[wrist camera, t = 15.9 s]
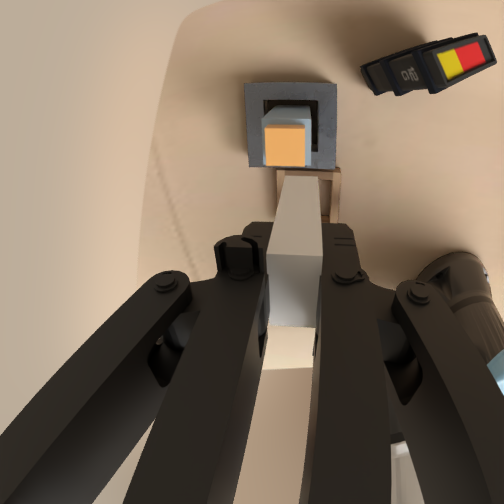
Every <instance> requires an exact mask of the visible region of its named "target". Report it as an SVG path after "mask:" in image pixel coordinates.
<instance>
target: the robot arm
mask: <svg viewBox="0 0 504 504" xmlns="http://www.w3.org/2000/svg"><path fill="white" fill-rule="evenodd" d="M214 251H215V258H216V264H217V270H218V272H217V274H216V276H215V278H212V279H209V280H204V281H197V282H191V283H190V281H189V278H188V276H187V275H186V274H185V273H183V272H180V271H174V270H171V271H164V272H161V273H158V274H156V275H154V276H153V277H151V278H150V279H149V280H148V281H147V282H146V283H144V284H143V285H142V286H141V287H140V288H139V289H138V290H137V291H136V292H135V293H134V294H133V295H132V296H131V297H130V298H129V299H128V300H127V301H126V302H125V303H124V304H123V305H122V306H121V307H120V308H119V309H118V310H117V311H115V312H114V314H113V315H111V316H110V317H109V318H108V319H107V320H106V321H105V322H104V324H102V325H101V326H100V327H99V328H98V329H97V330H96V331H95V333H94V334H92V335H91V336H90V338H89V339H88V340H87V341H86V342H85V343H84V344H83V345H82V346H81V347H80V348H79V349H78V350H77V351H76V352H75V353H74V354H73V355H72V356H71V357H70V358H69V359H68V360H67V361H66V362H65V363H64V365H63V366H62V367H61V368H60V369H59V370H58V371H57V372H56V373H55V374H54V375H53V376H52V377H51V378H50V380H49V381H48V382H47V383H46V384H45V385H44V386H43V387H42V389H40V390H39V392H38V393H37V394H36V395H35V396H34V397H33V398H32V399H31V401H30V402H29V403H28V404H27V405H26V406H25V407H24V408H23V410H22V411H21V412H20V413H19V415H17V417H16V418H15V419H14V420H13V421H12V422H11V424H10V425H9V426H8V427H7V428H6V430H5V431H4V432H3V433H2V434H1V436H0V504H92V503H93V502H94V500H95V499H96V497H97V496H98V495H99V494H100V492H101V491H102V490H103V488H104V487H105V486H106V485H107V483H108V482H109V481H110V479H111V478H112V477H113V475H114V474H115V472H116V471H117V470H118V468H119V467H120V466H121V464H122V463H123V462H124V460H125V459H126V458H127V456H128V455H129V454H130V452H131V451H132V449H133V448H134V447H135V445H136V444H137V443H138V441H139V440H140V438H141V437H142V436H143V434H144V433H145V432H146V430H147V429H148V427H149V426H150V425H151V423H152V422H153V421H154V419H155V418H156V419H155V421H154V424H153V426H152V429H151V431H150V434H149V436H148V439H147V441H146V444H145V446H144V449H143V451H142V454H141V456H140V459H139V462H138V464H137V467H136V470H135V472H134V475H133V477H132V480H131V483H130V485H129V488H128V490H127V493H126V496H125V498H124V501H123V504H233V501H234V497H235V492H236V488H237V484H238V479H239V475H240V471H241V466H242V462H243V457H244V453H245V448H246V444H247V439H248V434H249V429H250V424H251V420H252V415H253V410H254V406H255V400H256V396H257V390H258V385H259V381H260V375H261V370H262V365H263V360H264V355H265V349H266V344H267V339H268V335H267V325H268V320H269V325H276V326H292V327H311V328H316V331H315V340H314V348H313V355H312V356H314V358H313V375H312V391H311V403H310V415H309V426H308V436H307V445H306V455H305V463H304V471H303V478H302V485H301V493H300V499H299V504H504V322H503V320H502V318H501V316H500V314H499V312H498V310H497V308H496V306H495V304H494V303H493V301H492V294H491V288H490V285H489V277H488V273H487V271H486V269H485V267H484V266H483V264H482V263H481V261H480V260H479V259H478V258H477V257H476V256H474V255H472V254H469V253H465V252H456V253H451V254H448V255H445V256H443V257H441V258H439V259H437V260H435V261H434V262H432V263H431V264H430V265H429V266H427V267H426V268H425V269H424V270H423V271H422V273H421V274H420V275H419V276H418V278H417V280H407V281H404V282H401V283H400V284H399V285H398V286H397V289H396V291H394V290H390V289H386V288H382V287H380V286H377V285H375V284H373V283H371V282H370V281H369V277H368V275H367V274H366V272H365V271H364V270H362V269H361V266H360V261H359V257H358V252H357V247H356V243H355V240H354V234H353V230H352V229H350V228H349V227H348V226H347V225H346V224H340V223H321V212H320V197H319V184H318V176H285V179H284V183H283V187H282V191H281V196H280V200H279V204H278V208H277V212H276V216H275V220H274V222H252V223H250V224H249V225H248V226H246V227H245V228H244V231H243V233H242V235H233V236H230V237H226V238H224V239H222V240H220V241H218V242H217V243H216V244H215V246H214ZM159 338H160V339H159ZM158 339H159V340H158Z"/></svg>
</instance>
